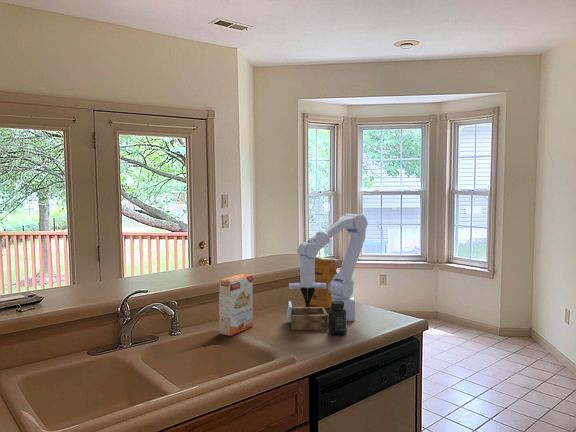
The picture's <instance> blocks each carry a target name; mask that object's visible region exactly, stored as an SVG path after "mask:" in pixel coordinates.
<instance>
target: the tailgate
mask: <svg viewBox="0 0 576 432" xmlns="http://www.w3.org/2000/svg"><path fill="white" fill-rule="evenodd" d="M287 303H288V304H287V312H286V313H287V314H286V318H287V323H288V324H291V323H290V322H291V312H292V307H293V306H292V305H293V304H292V301H291V300H288V302H287Z"/></svg>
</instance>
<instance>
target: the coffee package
mask: <svg viewBox="0 0 576 432" xmlns="http://www.w3.org/2000/svg"><path fill="white" fill-rule="evenodd" d="M335 262H336V260H335V259H332V258H331V259H327V258H324V259H323V258H320V257H317V256H316V257H315V283H326V289H323V288H317V289H314V290H315V291H314V294H313V296H312V298H311V301H310V306H311V307H324V308H325V310H326V309H331V308H332V307H331V302H332V296H331V293H330V292H329V290H328V286H329V283H330V282H331V281H332V279H333V277H334V276H335V275H336V274H338V271H337V268H336V266H335Z"/></svg>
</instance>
